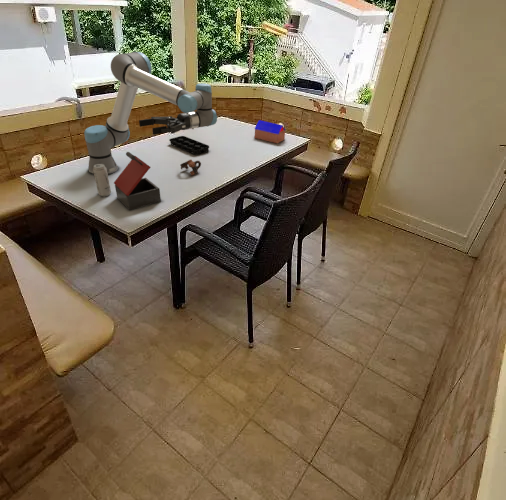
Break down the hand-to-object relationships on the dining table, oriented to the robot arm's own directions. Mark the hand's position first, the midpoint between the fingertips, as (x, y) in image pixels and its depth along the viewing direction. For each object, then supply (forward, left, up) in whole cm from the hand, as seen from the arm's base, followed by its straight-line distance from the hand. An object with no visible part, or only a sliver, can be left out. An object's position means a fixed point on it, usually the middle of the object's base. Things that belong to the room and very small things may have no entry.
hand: (146, 127), depth 156 cm
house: (-6, +118, -34) cm, 123 cm away
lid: (-3, -9, -21) cm, 23 cm away
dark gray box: (-2, -8, -34) cm, 35 cm away
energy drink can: (-19, -15, -34) cm, 42 cm away
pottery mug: (-6, +33, -31) cm, 46 cm away
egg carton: (-35, +63, -34) cm, 80 cm away
